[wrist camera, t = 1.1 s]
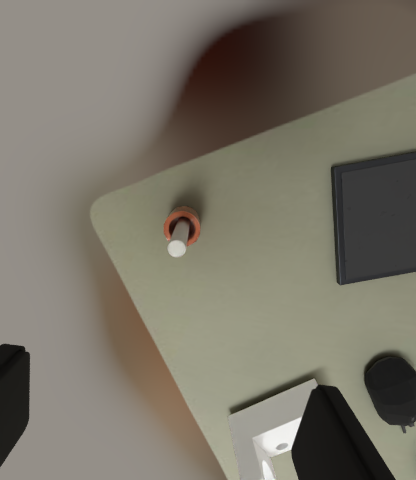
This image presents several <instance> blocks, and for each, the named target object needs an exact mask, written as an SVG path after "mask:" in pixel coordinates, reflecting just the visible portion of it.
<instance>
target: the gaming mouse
mask: <svg viewBox="0 0 416 480" xmlns="http://www.w3.org/2000/svg"><path fill="white" fill-rule="evenodd" d="M365 385H366V388H367V390H368V393H369V395H370V397H371V399H372V401H373V404H374V406H375V408H376V410H377V412H378V414H379V416H380V417H381V418H382V419H383V420H384V421H385V422H387V423H388V424H389V425H401V426H402V429H403V433H406V429H405V426H407V425H409V426H410V427H412V426H414V422H415V421H416V372H415V370H414V369H413V368H412V367H411V366H410V365H409V364H408V363H407V362H406V361H405V360H404V359H403V358H395V357H386V358H383V359H381V360H378V361H376V363H375V364H374V365H373V366H372V367H371V368H370V369H369V370H368V371H367V373H366V374H365Z"/></svg>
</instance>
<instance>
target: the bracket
mask: <svg viewBox="0 0 416 480" xmlns="http://www.w3.org/2000/svg"><path fill="white" fill-rule="evenodd" d="M317 386H318V384H317V382H316V380H315V378H314V379H311V380H309V381H307V382H305V383H302V384H300V385H298V386H296V387H293V388H291V389H289V390H286V391H284V392H282V393H280V394H277V395H275V396H273V397H271V398H268V399H266V400H264V401H261V402H259V403H257V404H255V405H252V406H250V407H248V408H246V409H243V410H241V411H239V412H236V413H234V414H232V415H230V416H228V421H229V426H230V431H231V436H232V441H233V446H234V451H235V455H236V460H237V465H238V470H239V475H240V480H277V478H276V475H275V471H274V468H273V465H272V461H271V457H274V456H276V455H279V454H281V453H283V452H286V451H288V450H291V449H292V445H293V442H294V439H295V436H296V433H297V430H298V428H299V425H300V422H301V419H302V416H303V413H304V410H305V408H306V405H307V402H308V399H309V396H310V393H311V391H312V389H316V387H317Z"/></svg>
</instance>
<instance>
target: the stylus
mask: <svg viewBox="0 0 416 480" xmlns="http://www.w3.org/2000/svg"><path fill="white" fill-rule="evenodd" d="M189 227H190V221H189V219H188V218H186V217H181V218H180V219H179V220H178V222H177V224H176V227H175V229H174V232H173V234H172V236H171V239H170V241H169V244H168V247H167V249H168V252H169V254H170V255H171V256H173V257H180V256H182V255H183V254H184V253H185V251H186V246H187V240H188V233H189Z"/></svg>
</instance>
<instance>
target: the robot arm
mask: <svg viewBox="0 0 416 480" xmlns="http://www.w3.org/2000/svg"><path fill="white" fill-rule="evenodd" d="M29 380H30V354H29V352H25V347H24V346H18V345H10V344H2V345H0V467H1V465H2V464H3V462H4V461H5V459H6V458H7V456H8V455H9V453H10V452H11V450H12V449H13V447H14V446H15V444H16V443H17V441H18V440H19V438H20V437H21V435H22V434H23V432H24V430H25V429H26V426H27V424H28V421H29V382H30V381H29ZM291 452H292V460H293V463H294V466H295V469H296V472H297V476H298V479H299V480H396V479H395V478H394V476H393V475H392V473H391V472H390V470H389V468H388V467H387V465H386V464H385V462H384V460H383V459H382V457H381V456H380V454H379V453H378V451H377V449H376V448H375V446H374V445H373V443H372V441H371V440H370V438H369V437H368V435H367V434H366V432H365V430H364V429H363V427H362V426H361V424H360V422H359V421H358V419H357V418H356V416H355V415H354V413H353V411H352V410H351V408H350V407H349V405H348V403H347V402H346V400H345V399H344V397H343V395H342V394H341V392H340V391H339V390H338V388H336V387H334V386H326V385H318V386H317V387H316V389H312V391H311V393H310V396H309V399H308V402H307V405H306V408H305V410H304V413H303V416H302V419H301V422H300V425H299V428H298V430H297V433H296V436H295V439H294V442H293V445H292V450H291Z"/></svg>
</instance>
